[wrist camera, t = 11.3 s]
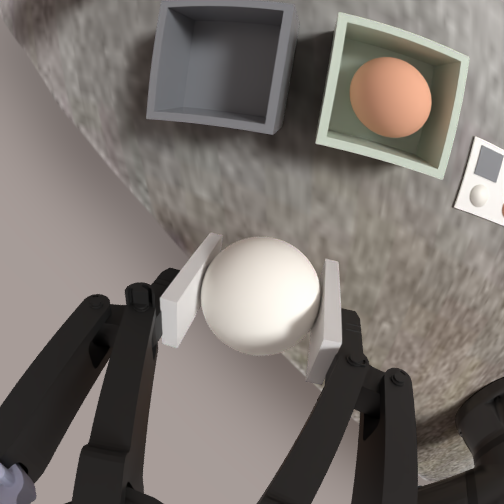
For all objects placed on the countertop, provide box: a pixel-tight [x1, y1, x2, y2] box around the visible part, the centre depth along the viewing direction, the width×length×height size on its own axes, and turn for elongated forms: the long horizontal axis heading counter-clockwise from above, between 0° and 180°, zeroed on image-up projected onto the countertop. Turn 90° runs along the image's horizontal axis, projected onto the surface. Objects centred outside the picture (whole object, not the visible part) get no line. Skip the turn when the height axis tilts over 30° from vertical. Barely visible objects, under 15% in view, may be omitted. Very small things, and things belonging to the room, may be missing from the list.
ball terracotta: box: [350, 57, 431, 138], centre depth 18 cm, size 6×6×6 cm
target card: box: [454, 136, 504, 226], centre depth 22 cm, size 7×9×1 cm
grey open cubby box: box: [146, 0, 300, 135], centre depth 20 cm, size 9×9×6 cm
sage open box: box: [316, 12, 469, 180], centre depth 19 cm, size 9×9×6 cm
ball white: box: [201, 236, 321, 356], centre depth 16 cm, size 6×6×6 cm
